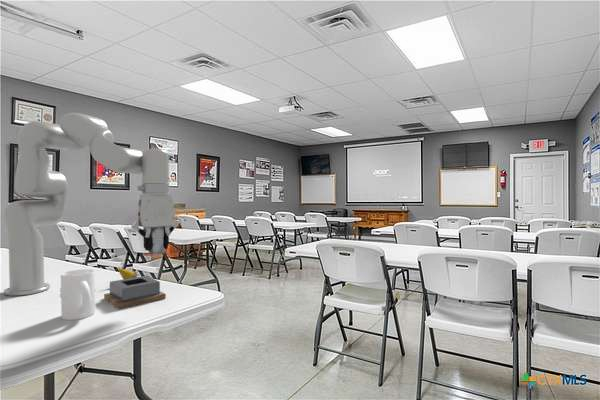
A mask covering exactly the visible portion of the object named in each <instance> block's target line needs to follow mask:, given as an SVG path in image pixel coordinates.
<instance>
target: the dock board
mask: <svg viewBox="0 0 600 400" xmlns="http://www.w3.org/2000/svg"><path fill="white" fill-rule="evenodd" d="M166 294H167V293H164V292H162V291H161V290H160V294H157V295H152V296H148V297H143V298H138V299H134V300H129V301H124V302H122V301H120V300H118V299H117V298H115V297H114V296H112V295H111V294H110V292H108V293H104V295H103V299H104V300H106V302H109V303H110V305H113V306H114V307H115V308H117V309H118V310H121V309H124V308H129V307H134V306H139V305H143V304H149V303H151V302H157V301H160V300H165V299H166Z"/></svg>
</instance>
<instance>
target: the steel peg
mask: <svg viewBox="0 0 600 400" xmlns="http://www.w3.org/2000/svg"><path fill="white" fill-rule="evenodd" d="M150 238H151V251H148V254H149V255H154V256H155V255H163V254H165V249H164V227H154V228H151V231H150Z"/></svg>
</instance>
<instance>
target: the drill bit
mask: <svg viewBox="0 0 600 400" xmlns="http://www.w3.org/2000/svg"><path fill="white" fill-rule="evenodd" d="M116 269H117V270H118V272H119V274H120V276H121V277H122V280H123V279H129V278H135V277H138V272H137V271H135V270H129V269H123V268H120V267H116Z"/></svg>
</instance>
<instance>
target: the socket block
mask: <svg viewBox="0 0 600 400" xmlns="http://www.w3.org/2000/svg"><path fill="white" fill-rule="evenodd" d="M160 283H161V282H160V281H159V280H157V279H154V278H152V277H150V276H147V275H143V276H142V275H141V276H137V277H135V278H129V279H123V278H122V279H118V280H112V281H111V280H110V281H109V293H110V294H111V295H112V296H114V297H115V298H117V299H118V300H120V301H122V302H124V301H129V300H134V299H138V298H143V297H148V296H152V295H157V294H160V291H161V290H160V289H161V284H160Z"/></svg>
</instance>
